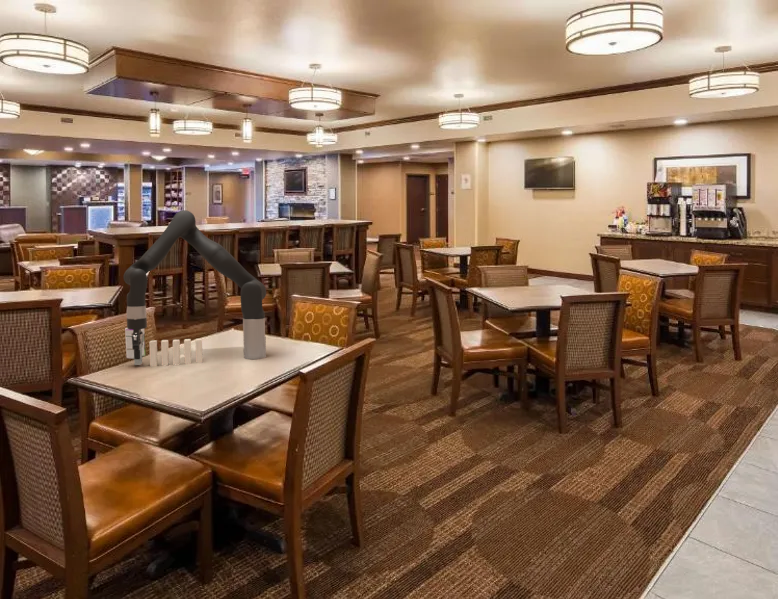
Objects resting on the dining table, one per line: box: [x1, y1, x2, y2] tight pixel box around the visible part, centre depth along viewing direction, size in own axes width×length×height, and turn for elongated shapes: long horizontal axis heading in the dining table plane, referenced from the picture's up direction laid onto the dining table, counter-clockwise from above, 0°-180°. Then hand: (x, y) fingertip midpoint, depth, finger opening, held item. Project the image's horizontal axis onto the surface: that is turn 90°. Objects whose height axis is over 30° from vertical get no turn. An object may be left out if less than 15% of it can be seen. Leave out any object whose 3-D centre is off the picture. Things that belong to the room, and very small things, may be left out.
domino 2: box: [148, 339, 158, 367], centre depth 246 cm, size 2×5×10 cm, turn 16°
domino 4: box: [172, 339, 181, 366], centre depth 249 cm, size 2×5×10 cm, turn 16°
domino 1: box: [133, 340, 143, 366], centre depth 245 cm, size 2×5×10 cm, turn 16°
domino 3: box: [160, 339, 170, 367], centre depth 247 cm, size 2×5×10 cm, turn 16°
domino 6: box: [194, 338, 203, 364], centre depth 251 cm, size 2×5×10 cm, turn 16°
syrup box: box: [124, 327, 147, 360], centre depth 259 cm, size 6×6×14 cm
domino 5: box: [183, 338, 192, 365], centre depth 250 cm, size 2×5×10 cm, turn 16°
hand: (138, 357), depth 245 cm, fingers closed on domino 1, 5 cm apart
